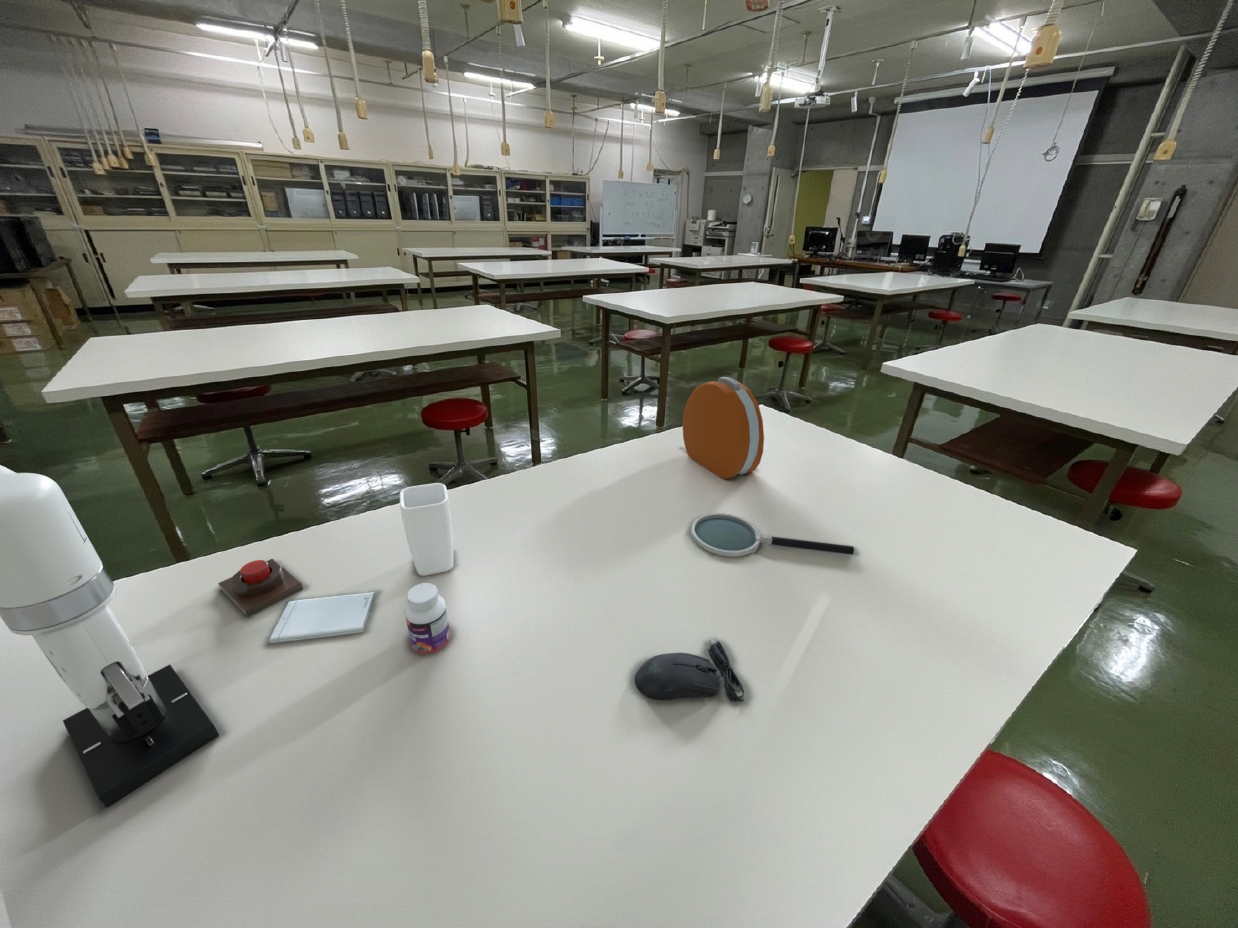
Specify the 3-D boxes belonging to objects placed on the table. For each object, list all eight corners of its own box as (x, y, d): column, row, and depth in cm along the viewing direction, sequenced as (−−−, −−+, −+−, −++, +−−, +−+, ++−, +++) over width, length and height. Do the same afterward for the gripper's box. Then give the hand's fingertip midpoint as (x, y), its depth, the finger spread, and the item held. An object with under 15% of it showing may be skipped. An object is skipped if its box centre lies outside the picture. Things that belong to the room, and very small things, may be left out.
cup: (459, 575, 86) (448, 502, 80) (414, 584, 84) (399, 510, 77) (454, 550, 92) (445, 481, 86) (412, 558, 90) (399, 487, 83)
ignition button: (239, 576, 79) (235, 568, 78) (264, 565, 81) (261, 556, 81) (249, 586, 77) (245, 577, 76) (274, 574, 80) (271, 565, 79)
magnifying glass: (860, 577, 90) (863, 568, 89) (689, 555, 94) (690, 546, 93) (843, 534, 102) (845, 526, 101) (691, 516, 106) (692, 508, 105)
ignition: (222, 593, 80) (214, 574, 79) (276, 568, 86) (269, 549, 84) (249, 621, 75) (241, 601, 74) (304, 592, 81) (298, 573, 79)
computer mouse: (626, 657, 72) (627, 638, 70) (721, 645, 75) (724, 627, 73) (641, 720, 63) (643, 700, 62) (748, 704, 66) (753, 685, 64)
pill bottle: (403, 648, 72) (392, 597, 68) (432, 624, 76) (423, 574, 72) (431, 663, 70) (421, 611, 65) (458, 637, 74) (451, 587, 70)
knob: (101, 727, 57) (77, 693, 54) (155, 695, 61) (135, 662, 58) (119, 751, 55) (95, 716, 52) (173, 716, 58) (154, 682, 56)
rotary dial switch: (74, 736, 59) (61, 719, 57) (178, 679, 66) (169, 663, 65) (110, 813, 52) (96, 796, 50) (222, 740, 59) (213, 723, 58)
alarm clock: (764, 477, 122) (781, 389, 112) (733, 486, 118) (749, 396, 107) (707, 443, 139) (717, 363, 129) (678, 449, 135) (687, 368, 124)
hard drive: (374, 590, 80) (289, 599, 78) (362, 628, 73) (267, 639, 70) (376, 598, 81) (291, 607, 78) (364, 636, 74) (271, 647, 71)
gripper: (-26, 585, 49) (61, 706, 58) (34, 659, 42) (125, 785, 50) (76, 546, 55) (142, 661, 64) (145, 606, 48) (209, 727, 56)
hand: (133, 715), depth 57 cm, fingers closed on knob, 5 cm apart
